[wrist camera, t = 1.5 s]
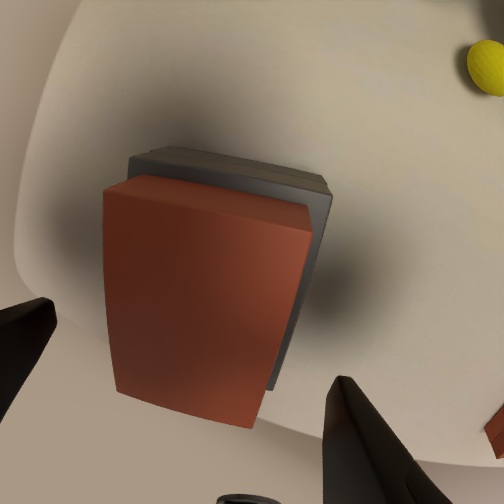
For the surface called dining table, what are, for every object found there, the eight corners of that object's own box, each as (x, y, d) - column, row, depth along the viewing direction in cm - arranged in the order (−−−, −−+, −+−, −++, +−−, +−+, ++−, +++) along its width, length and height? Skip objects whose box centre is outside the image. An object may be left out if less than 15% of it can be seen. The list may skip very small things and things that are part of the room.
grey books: (277, 340, 17) (272, 394, 13) (154, 311, 17) (124, 356, 13) (322, 175, 13) (335, 195, 9) (167, 146, 13) (124, 156, 10)
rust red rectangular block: (258, 384, 13) (252, 429, 10) (138, 353, 13) (116, 392, 11) (308, 205, 10) (314, 232, 7) (142, 173, 10) (102, 189, 7)
